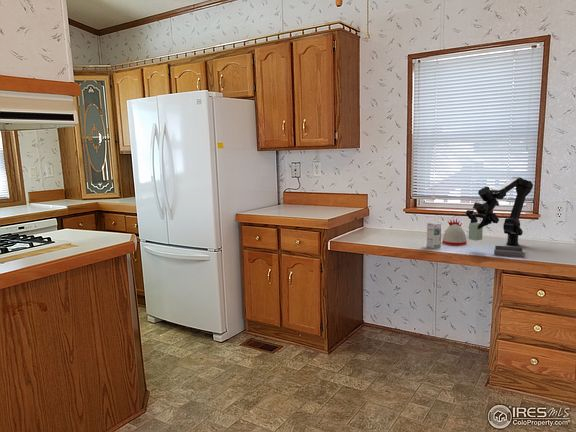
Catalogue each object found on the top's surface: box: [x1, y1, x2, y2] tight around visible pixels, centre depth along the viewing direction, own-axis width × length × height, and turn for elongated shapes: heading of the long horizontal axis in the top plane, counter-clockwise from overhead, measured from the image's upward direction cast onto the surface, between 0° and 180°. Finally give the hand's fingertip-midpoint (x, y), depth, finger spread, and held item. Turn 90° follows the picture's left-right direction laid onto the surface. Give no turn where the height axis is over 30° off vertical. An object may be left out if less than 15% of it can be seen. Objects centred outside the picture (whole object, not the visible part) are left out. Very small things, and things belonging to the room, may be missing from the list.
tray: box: [493, 244, 524, 258], centre depth 246 cm, size 14×14×2 cm
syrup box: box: [426, 221, 442, 249], centre depth 265 cm, size 6×6×14 cm
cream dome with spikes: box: [442, 218, 468, 246], centre depth 274 cm, size 14×14×15 cm
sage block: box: [468, 222, 484, 242], centre depth 251 cm, size 5×5×9 cm
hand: (474, 228), depth 250 cm, fingers closed on sage block, 5 cm apart
